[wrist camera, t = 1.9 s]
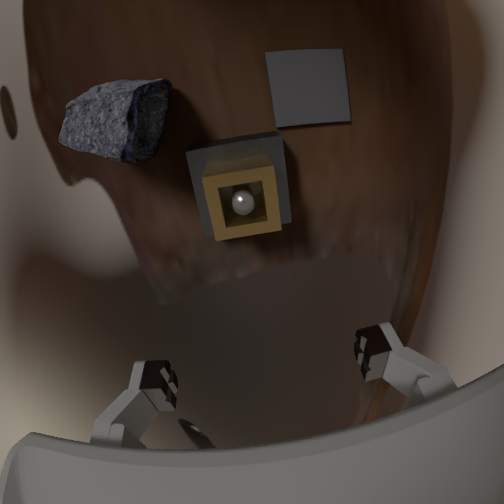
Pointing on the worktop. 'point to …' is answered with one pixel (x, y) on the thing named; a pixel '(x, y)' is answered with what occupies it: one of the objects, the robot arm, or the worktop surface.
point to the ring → (263, 213)
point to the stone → (118, 119)
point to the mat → (308, 86)
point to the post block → (239, 194)
